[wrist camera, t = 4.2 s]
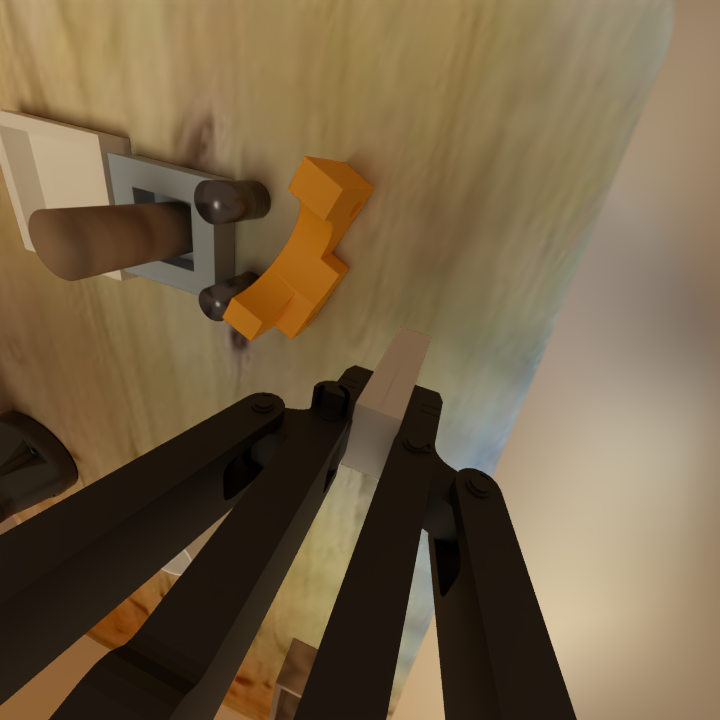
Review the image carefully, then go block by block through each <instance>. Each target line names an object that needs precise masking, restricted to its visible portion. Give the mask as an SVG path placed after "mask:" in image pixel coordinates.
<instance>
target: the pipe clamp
mask: <svg viewBox="0 0 720 720" xmlns="http://www.w3.org/2000/svg"><path fill="white" fill-rule="evenodd" d="M288 190H289V191H290V192H291V193H292V194H293V195H295V196H296V197H297V198H298V199H299V200H300V203H301V206H300V214H299V217H298V221H297V223H296V226H295V228H294V231H293V233H292V235H291V237H290V239H289V240H288V242H287V244H286V245H285V247H284V249H283V250H282V252H281V253H280V254H279V256H278V257H277V259H276V260H275V261H274V262H273V264H272V265H271V266H270V267H269V268H268V270H267V271H266V272H265V273H264V274H263V275H262V276H261V277H260V278H259V279H258V280H257V281H256V282H255V283H253V284H252V285H251V286H250V287H249V288H247V289H246V290H245V291H243V292H242V293H240V294H238V295H237V296H235V297H233V298H232V300H231V301H230V303H229V305H228V307H227V309H226V311H225V313H224V315H223V317H222V318H223V319H224V320H225V321H227V322H228V323H229V324H230V325H231V326H233V327H234V328H235V329H236V330H238V331H239V332H240V333H241V334H243V335H244V336H245V337H246V338H247V339H249V340H250V341H253V340H254V339H255V338H257V337H258V336H260V335H261V334H263V333H264V332H266V331H267V330H269V329H270V328H271V327H273V326H276V327H277V328H278V329H279V330H280V331H282V332H283V333H284V334H285V335H287V336H288V337H289V338H290V339H291V340H292V339H293V338H295V337H296V336H297V335H298V334H299V333H301V332H302V331H303V330H304V329H305V328H307V327H308V326H309V324H310V323H311V322H312V320H313V319H314V317H315V316H316V315H317V313H318V312H319V310H320V309H321V308H322V306H323V305H324V303H325V302H326V300H327V299H328V298H329V296H330V295H331V293H332V292H333V291H334V289H335V288H336V286H337V285H338V284H339V282H340V281H341V279H342V278H343V277H344V275H345V274H346V272H347V271H348V270H349V268H348V267H347V266H346V265H345V264H344V263H343V262H341V261H340V260H339V259H338V258H337V257H335V256H334V255H333V254H332V252H333V251H334V249H335V248H336V246H337V245H338V243H339V241H340V240H341V238H342V237H343V235H344V234H345V232H346V231H347V229H348V228H349V226H350V225H351V223H352V222H353V220H354V219H355V217H356V216H357V214H358V213H359V211H360V210H361V208H362V206H363V205H364V203H365V202H366V200H367V199H368V197H369V196H370V194H371V193H372V191H373V190H374V187H373V186H371V185H370V184H369V183H368V182H367V181H366V180H365V179H363V178H362V177H361V176H360V175H359V174H358V173H357V172H355V171H354V170H353V169H352V168H351V167H350V166H348V165H347V164H346V163H345V162H338V161H332V160H326V159H320V158H313V157H307V156H304V158H303V160H302V162H301V164H300V166H299V168H298V170H297V172H296V174H295V176H294V178H293V180H292V182H291V184H290V186H289V188H288Z"/></svg>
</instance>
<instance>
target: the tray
mask: <svg viewBox="0 0 720 720" xmlns="http://www.w3.org/2000/svg"><path fill="white" fill-rule="evenodd" d="M107 152H108V153H120V154H131V150H130V142H129V139H127V138H123V137H119V136H115V135H111V134H107V133H103V132H99V131H95V130H91V129H87V128H83V127H79V126H75V125H71V124H67V123H63V122H59V121H55V120H51V119H46V118H42V117H38V116H34V115H30V114H26V113H22V112H16V111H10V110H4V109H0V164H1V167H2V171H3V174H4V177H5V181H6V184H7V188H8V191H9V194H10V198H11V201H12V204H13V208H14V211H15V215H16V218H17V221H18V225H19V228H20V231H21V235H22V238H23V242H24V245H25V248H26V249H27V250H30V251H33V252H36V251H35V249H34V247H33V245H32V242H31V239H30V235H29V229H28V223H29V218H30V216H31V214H32V213H33V212H34V211H36V210H39V209H53V208H71V207H88V206H105V205H115V199H114V193H113V187H112V180H111V174H110V167H109V161H108V155H107ZM102 275H105V276H108V277H111V278H114V279H117V280H120V281H124V280H128V279H131V278H135V277H139V276H138V275H135V274H132V273H129V272H126V270H125V269H121V270H117V271H113V272H109V273H104V274H102Z"/></svg>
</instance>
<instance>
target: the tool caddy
mask: <svg viewBox="0 0 720 720" xmlns="http://www.w3.org/2000/svg"><path fill="white" fill-rule="evenodd" d="M317 652H318V650H316V649H314V648H312V647H310V646H308V645H306V644H304V643H302V642H300V641H298V640H296V639H293V642H292V644H291V646H290V649H289V651H288V654H287V656H286V659H285V661H284V664H283V666H282V668H281V671H280V673H279V676H278V678H277V681H276V684H275V689H274V695H273V700H272V706H271V711H270V716H269V720H293V718H294V716H295V713H296V710H297V707H298V705H299V702H300V699H301V696H302V693H303V691H304V688H305V685H306V682H307V680H308V677H309V674H310V671H311V668H312V666H313V663H314V660H315V657H316V654H317Z"/></svg>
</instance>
